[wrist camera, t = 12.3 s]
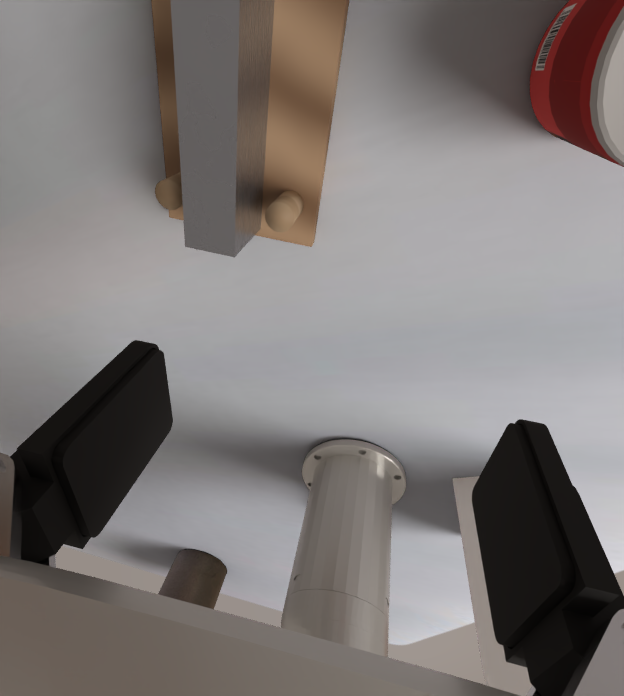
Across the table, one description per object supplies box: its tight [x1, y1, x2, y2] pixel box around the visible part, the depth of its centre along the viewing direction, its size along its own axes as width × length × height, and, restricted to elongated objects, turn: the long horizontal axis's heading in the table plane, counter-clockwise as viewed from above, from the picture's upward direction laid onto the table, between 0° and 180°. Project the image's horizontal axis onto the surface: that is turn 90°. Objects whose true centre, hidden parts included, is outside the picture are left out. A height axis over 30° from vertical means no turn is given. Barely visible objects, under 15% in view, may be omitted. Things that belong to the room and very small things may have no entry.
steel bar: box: [171, 0, 275, 257], centre depth 23 cm, size 18×4×6 cm, turn 172°
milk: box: [452, 476, 532, 696], centre depth 36 cm, size 12×12×26 cm
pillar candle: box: [158, 549, 227, 609], centre depth 65 cm, size 10×10×15 cm
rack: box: [151, 0, 349, 247], centre depth 25 cm, size 20×12×5 cm, turn 172°
